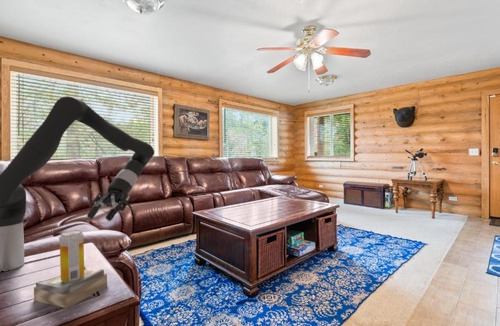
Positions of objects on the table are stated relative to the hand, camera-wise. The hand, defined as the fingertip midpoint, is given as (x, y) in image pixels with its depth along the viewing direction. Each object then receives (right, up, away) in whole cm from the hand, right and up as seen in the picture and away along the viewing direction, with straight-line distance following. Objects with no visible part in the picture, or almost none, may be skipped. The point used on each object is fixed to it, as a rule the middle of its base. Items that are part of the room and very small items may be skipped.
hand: (98, 218), depth 86 cm
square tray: (-3, -22, -9) cm, 23 cm away
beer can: (-3, -18, -9) cm, 20 cm away
